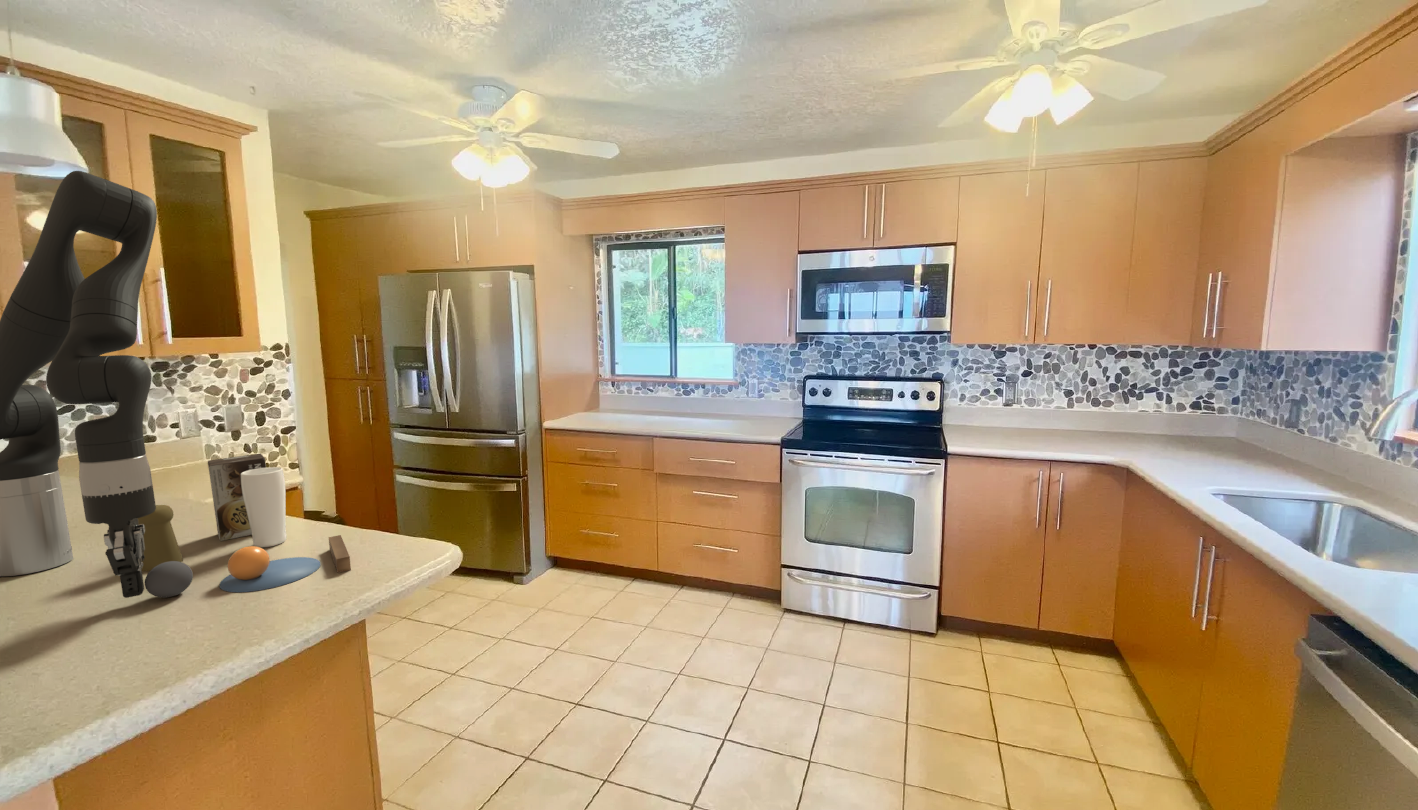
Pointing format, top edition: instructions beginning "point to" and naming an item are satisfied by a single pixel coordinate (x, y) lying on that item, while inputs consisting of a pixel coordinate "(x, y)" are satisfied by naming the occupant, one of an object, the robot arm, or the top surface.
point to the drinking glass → (265, 505)
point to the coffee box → (231, 493)
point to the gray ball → (168, 579)
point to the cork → (159, 538)
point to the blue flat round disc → (273, 575)
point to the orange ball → (248, 563)
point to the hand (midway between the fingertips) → (134, 594)
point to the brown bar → (339, 554)
